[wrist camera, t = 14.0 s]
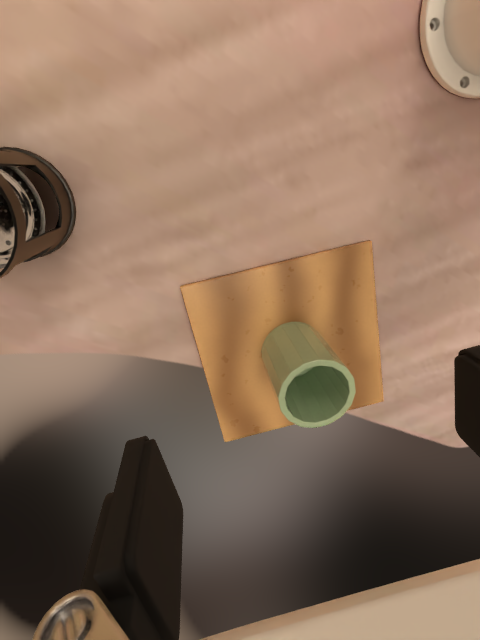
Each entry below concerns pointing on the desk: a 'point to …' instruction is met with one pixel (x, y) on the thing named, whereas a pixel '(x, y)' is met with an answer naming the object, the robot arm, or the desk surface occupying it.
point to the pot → (306, 375)
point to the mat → (274, 310)
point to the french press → (30, 209)
